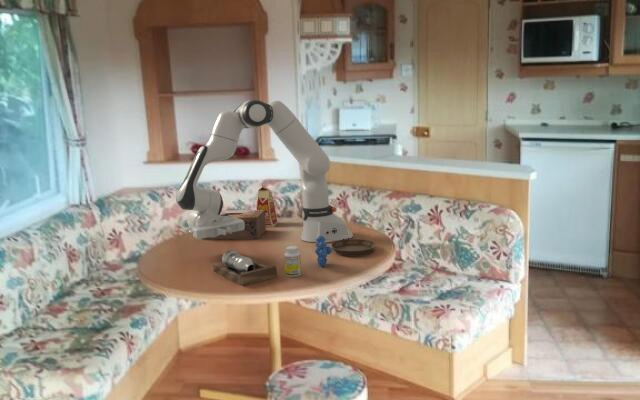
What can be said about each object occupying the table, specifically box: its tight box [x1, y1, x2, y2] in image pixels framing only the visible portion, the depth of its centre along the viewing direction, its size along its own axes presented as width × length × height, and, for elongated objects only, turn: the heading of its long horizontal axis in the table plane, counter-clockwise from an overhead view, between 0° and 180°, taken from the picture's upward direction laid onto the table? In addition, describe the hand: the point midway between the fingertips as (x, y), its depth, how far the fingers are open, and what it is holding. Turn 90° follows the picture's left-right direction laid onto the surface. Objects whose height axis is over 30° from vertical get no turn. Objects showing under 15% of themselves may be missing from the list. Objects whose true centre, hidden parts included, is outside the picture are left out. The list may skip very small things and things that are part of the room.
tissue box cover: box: [202, 209, 267, 240], centre depth 282 cm, size 26×14×10 cm, turn 82°
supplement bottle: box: [284, 245, 302, 278], centre depth 222 cm, size 6×6×10 cm
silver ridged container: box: [221, 249, 256, 274], centre depth 228 cm, size 6×7×20 cm
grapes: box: [314, 236, 334, 267], centre depth 231 cm, size 12×7×12 cm, turn 7°
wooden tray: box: [212, 259, 278, 287], centre depth 227 cm, size 23×14×4 cm, turn 36°
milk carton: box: [256, 184, 278, 228], centre depth 297 cm, size 9×9×20 cm
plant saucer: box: [330, 238, 377, 257], centre depth 249 cm, size 18×18×3 cm
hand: (228, 232), depth 233 cm, fingers closed
